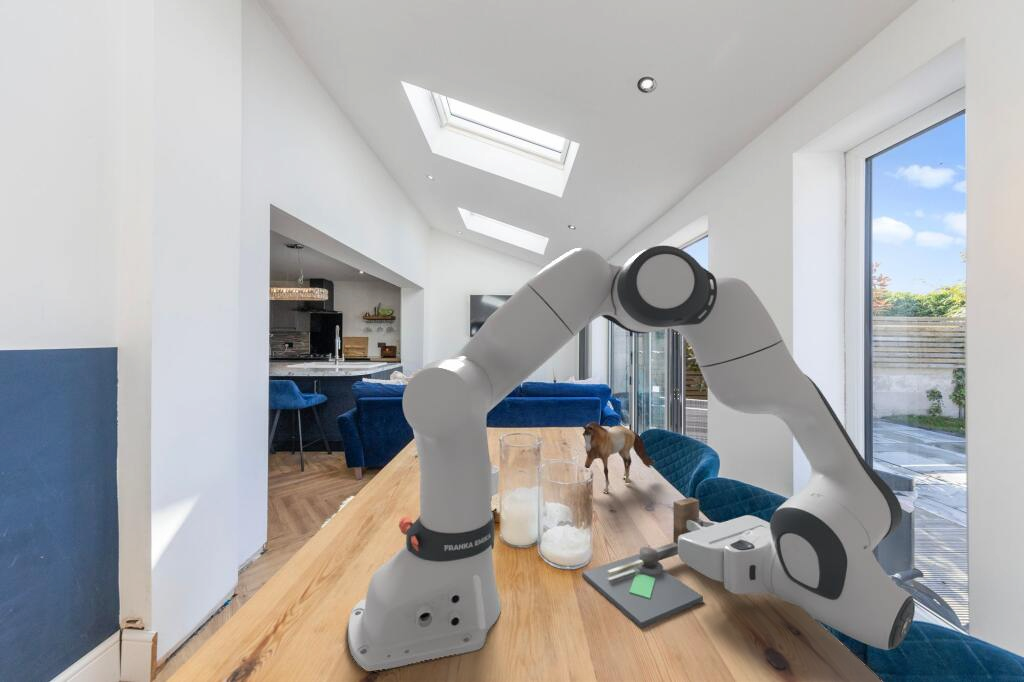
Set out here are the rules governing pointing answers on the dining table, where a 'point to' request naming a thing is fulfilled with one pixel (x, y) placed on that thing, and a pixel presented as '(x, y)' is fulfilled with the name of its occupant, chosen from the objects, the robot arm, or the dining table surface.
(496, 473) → the white cup
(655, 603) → the white-striped grey panel
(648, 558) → the lever with brown handle
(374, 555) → the dining table surface
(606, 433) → the horse figurine
